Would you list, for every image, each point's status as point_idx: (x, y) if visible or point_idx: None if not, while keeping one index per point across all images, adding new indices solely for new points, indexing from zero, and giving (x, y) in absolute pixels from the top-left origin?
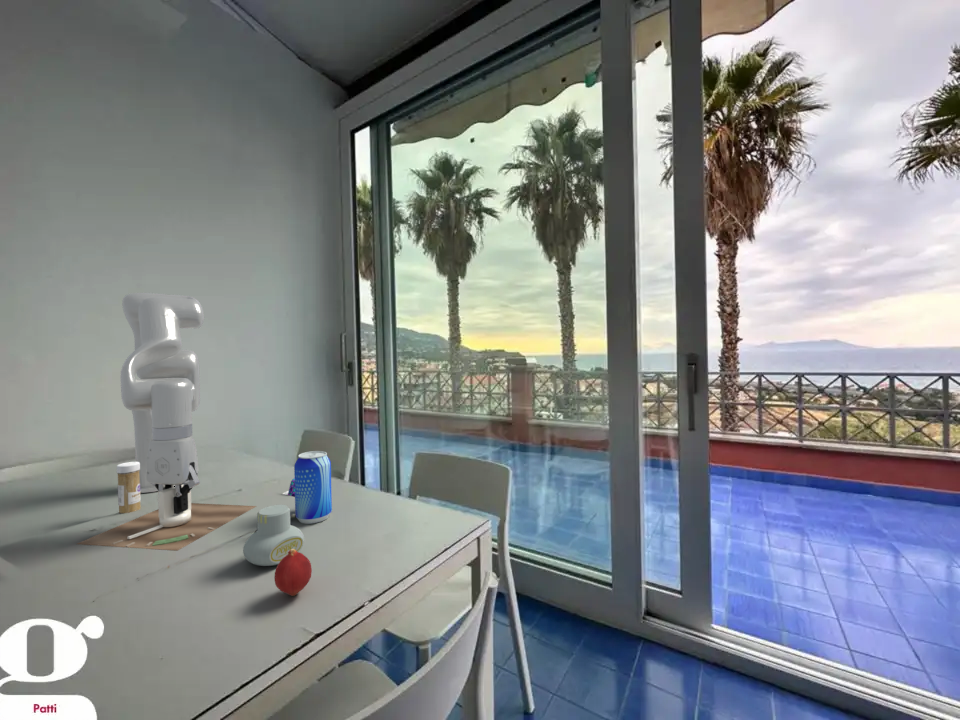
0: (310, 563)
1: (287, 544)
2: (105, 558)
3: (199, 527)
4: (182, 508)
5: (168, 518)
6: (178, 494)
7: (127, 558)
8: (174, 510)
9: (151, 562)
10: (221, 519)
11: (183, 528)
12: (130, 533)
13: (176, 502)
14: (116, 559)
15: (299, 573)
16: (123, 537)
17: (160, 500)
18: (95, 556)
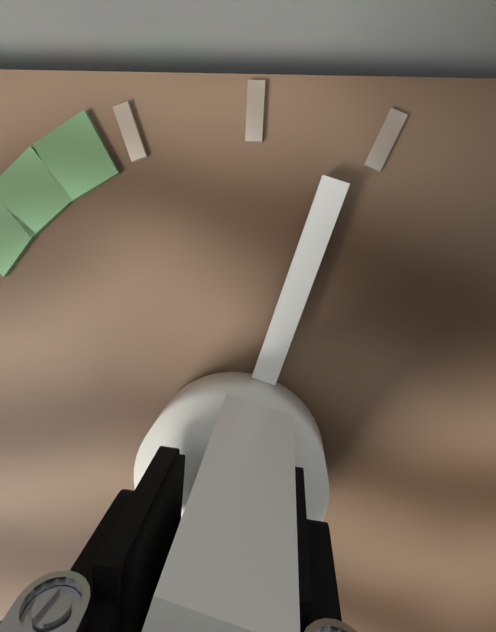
0: None
1: None
2: (348, 24)
3: (36, 387)
4: (123, 493)
5: (199, 400)
6: (45, 602)
7: (203, 42)
8: (167, 462)
9: (13, 11)
10: (7, 490)
11: (118, 370)
12: (416, 286)
13: (124, 520)
14: (261, 20)
15: None
16: (411, 221)
17: (250, 511)
18: (444, 42)
